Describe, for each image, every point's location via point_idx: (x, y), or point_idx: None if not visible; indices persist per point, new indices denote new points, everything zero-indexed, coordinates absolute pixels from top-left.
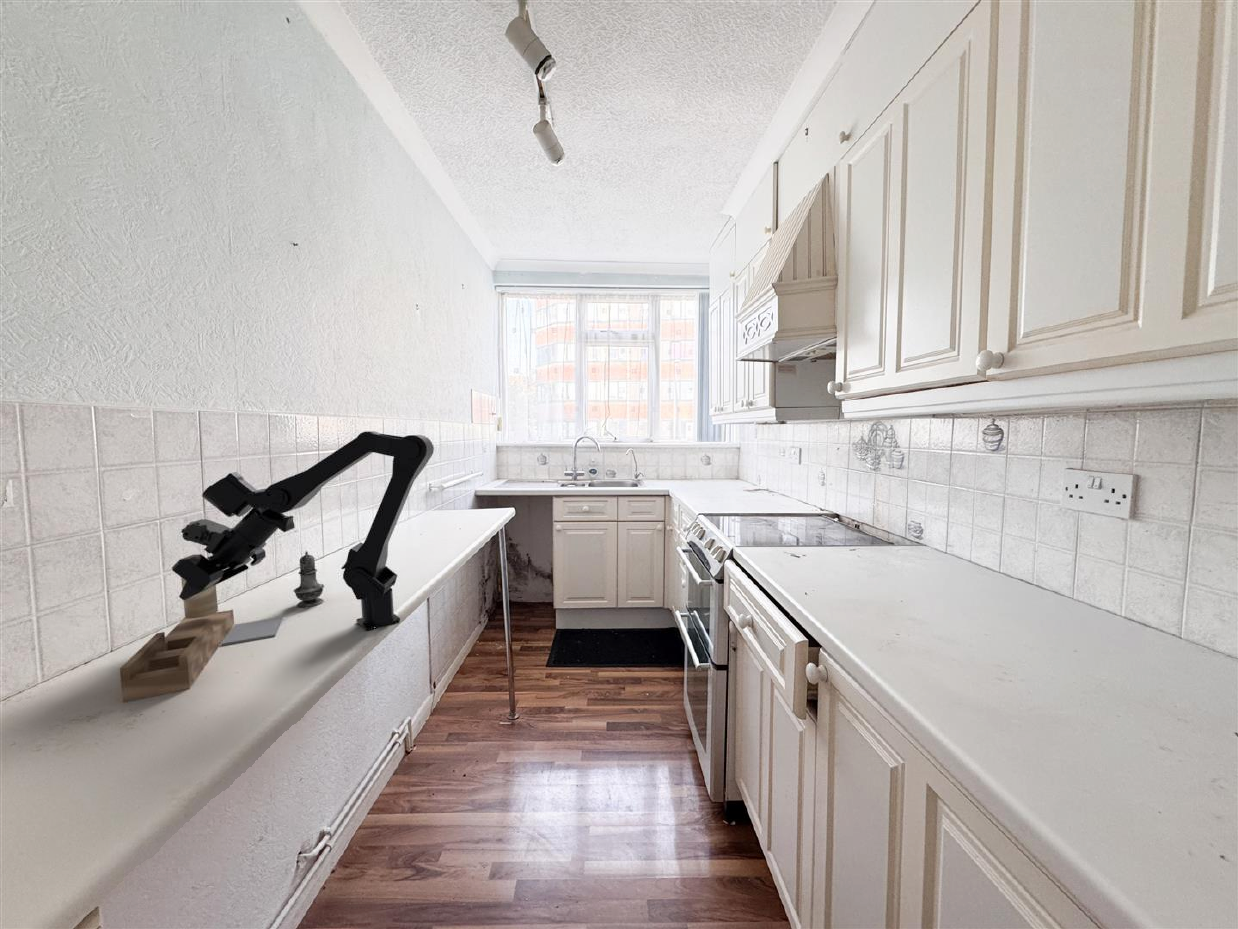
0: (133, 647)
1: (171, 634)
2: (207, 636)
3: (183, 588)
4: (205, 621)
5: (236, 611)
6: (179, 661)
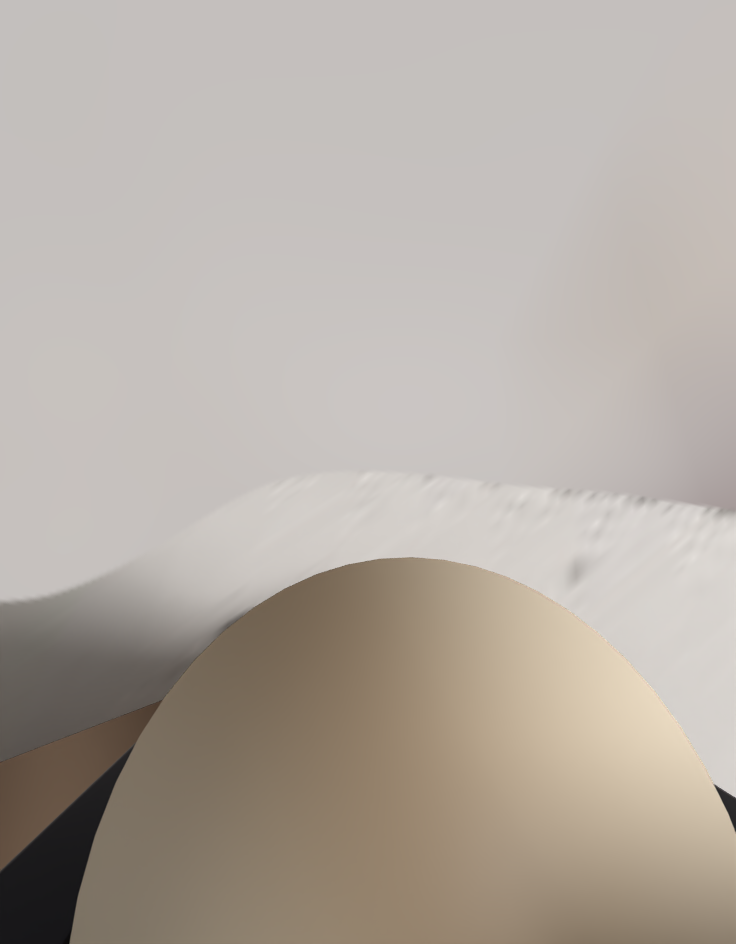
0: (263, 498)
1: (93, 752)
2: None
3: (66, 814)
4: None
5: (723, 699)
6: None
